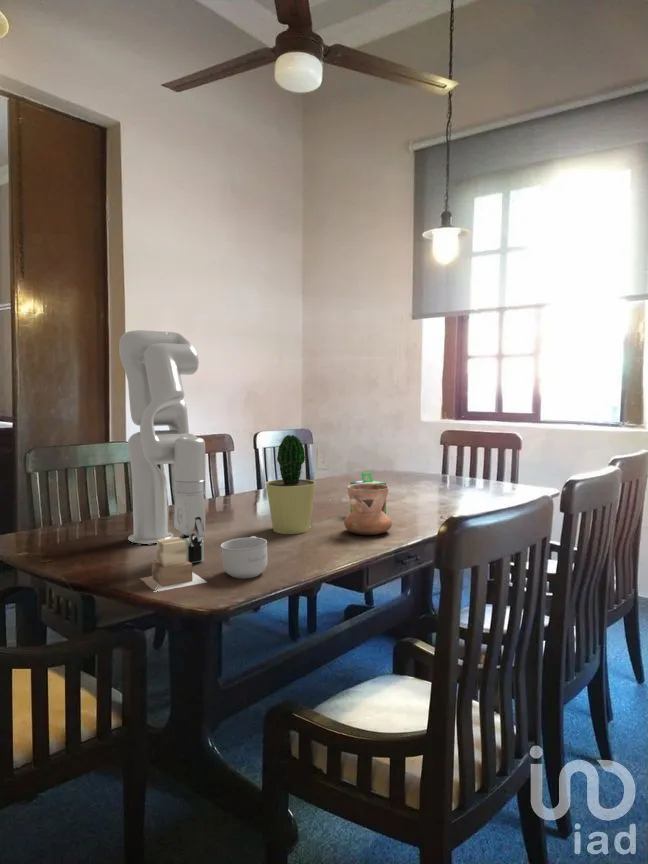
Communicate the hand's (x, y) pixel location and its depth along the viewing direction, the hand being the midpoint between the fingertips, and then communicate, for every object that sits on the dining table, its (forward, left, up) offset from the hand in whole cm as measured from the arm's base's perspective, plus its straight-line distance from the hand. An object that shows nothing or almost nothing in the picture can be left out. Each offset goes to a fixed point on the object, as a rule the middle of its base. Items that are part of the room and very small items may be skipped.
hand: (190, 557), depth 154 cm
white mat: (+12, -9, -1) cm, 15 cm away
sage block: (0, 0, -1) cm, 1 cm away
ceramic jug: (-1, +57, -2) cm, 57 cm away
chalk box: (-21, +72, -2) cm, 75 cm away
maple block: (+12, -9, +3) cm, 15 cm away
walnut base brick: (+12, -9, -1) cm, 15 cm away
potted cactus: (-17, +39, -2) cm, 43 cm away
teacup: (+16, +8, -2) cm, 18 cm away
